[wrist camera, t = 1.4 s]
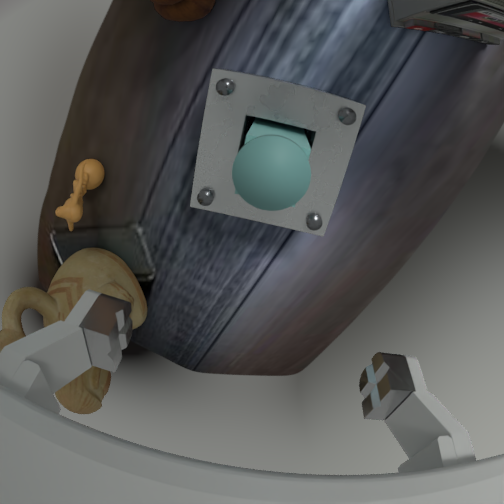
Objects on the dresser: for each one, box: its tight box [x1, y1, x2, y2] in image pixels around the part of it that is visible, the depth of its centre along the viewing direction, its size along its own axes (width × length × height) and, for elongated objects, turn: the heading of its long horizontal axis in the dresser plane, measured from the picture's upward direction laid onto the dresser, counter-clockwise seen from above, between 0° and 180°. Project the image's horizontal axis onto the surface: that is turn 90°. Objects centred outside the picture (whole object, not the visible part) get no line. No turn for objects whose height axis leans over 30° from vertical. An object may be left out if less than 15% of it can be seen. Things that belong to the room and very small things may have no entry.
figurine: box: [55, 159, 105, 231], centre depth 33 cm, size 8×6×12 cm
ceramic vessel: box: [0, 248, 147, 414], centre depth 37 cm, size 17×20×25 cm
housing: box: [190, 69, 366, 237], centre depth 31 cm, size 14×14×8 cm
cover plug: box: [232, 117, 311, 211], centre depth 29 cm, size 6×6×13 cm
